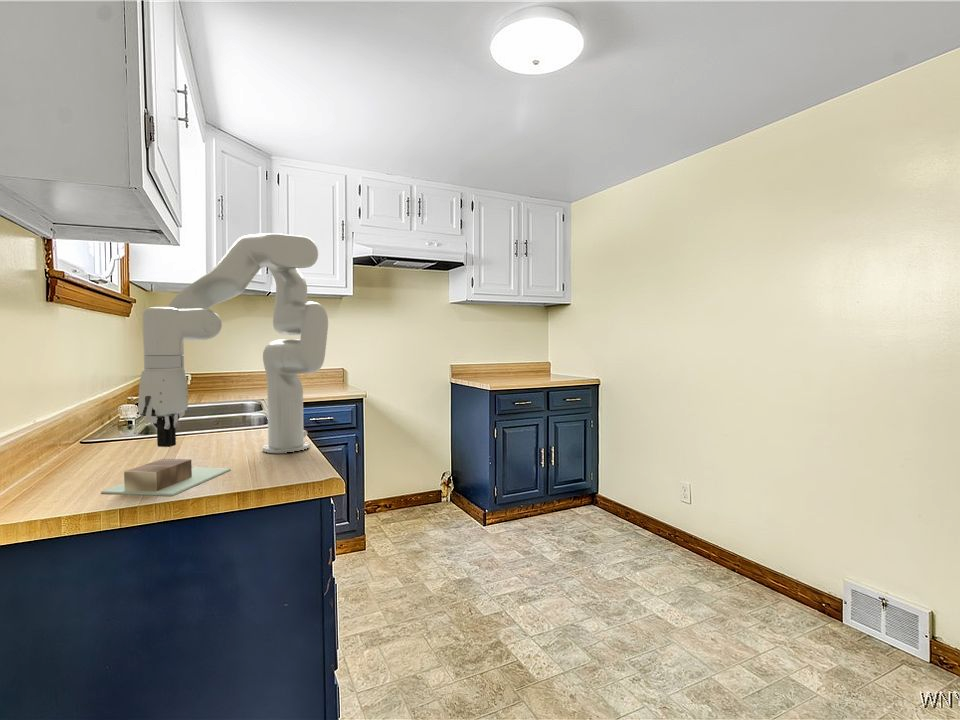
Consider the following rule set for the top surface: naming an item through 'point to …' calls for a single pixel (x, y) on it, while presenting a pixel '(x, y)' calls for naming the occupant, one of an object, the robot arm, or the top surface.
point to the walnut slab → (157, 475)
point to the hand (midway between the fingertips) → (166, 445)
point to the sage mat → (197, 478)
